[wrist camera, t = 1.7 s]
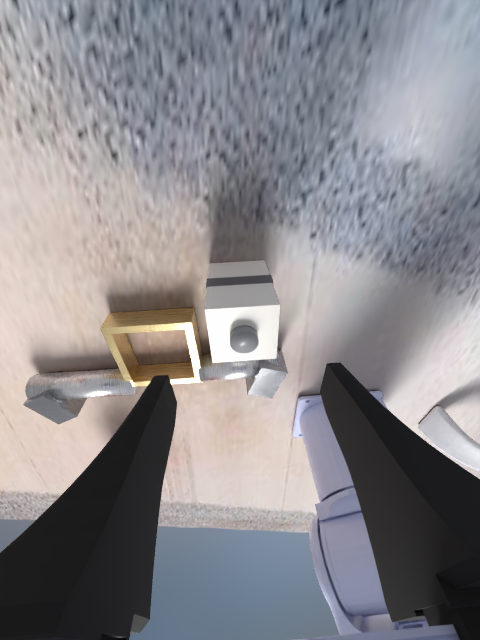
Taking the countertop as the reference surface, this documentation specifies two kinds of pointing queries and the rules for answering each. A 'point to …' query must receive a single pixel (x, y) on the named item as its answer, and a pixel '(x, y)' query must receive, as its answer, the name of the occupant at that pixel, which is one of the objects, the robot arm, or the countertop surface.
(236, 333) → the white knobbed block
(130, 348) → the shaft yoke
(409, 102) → the countertop surface
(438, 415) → the spoon rest
